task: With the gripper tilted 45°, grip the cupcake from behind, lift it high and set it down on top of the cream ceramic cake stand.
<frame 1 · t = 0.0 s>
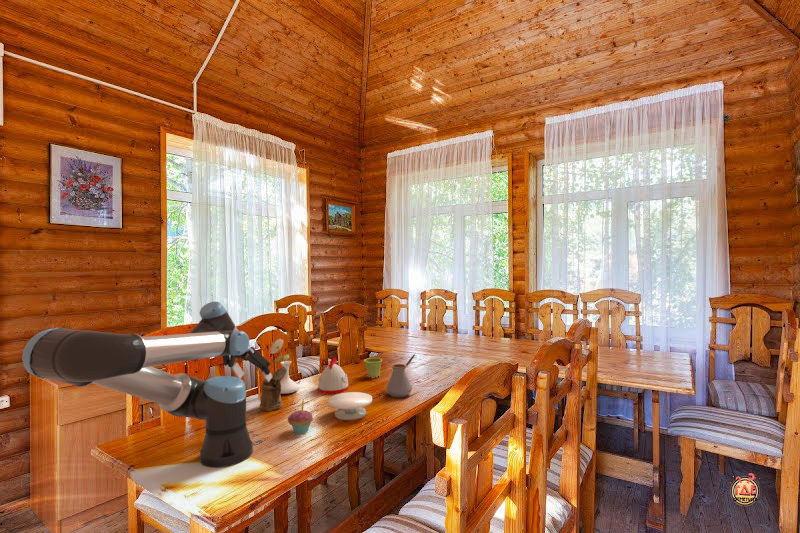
hand: (255, 377, 159), 15 cm above the table, tool tilted 35°, fingers open, 13 cm apart
plant pot: (373, 377, 213), on the table
flower in vase: (284, 392, 190), on the table
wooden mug: (274, 409, 169), on the table
coffee pot: (404, 392, 187), on the table
cupcake: (300, 432, 145), on the table
cake stand: (350, 414, 160), on the table
kitchen timer: (333, 389, 193), on the table
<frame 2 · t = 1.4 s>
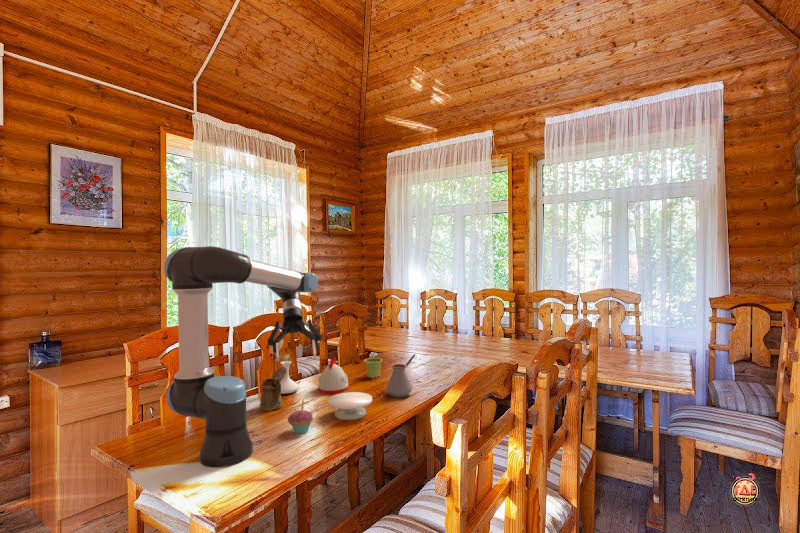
hand: (296, 357, 155), 24 cm above the table, tool tilted 45°, fingers open, 13 cm apart
nothing on the table moved.
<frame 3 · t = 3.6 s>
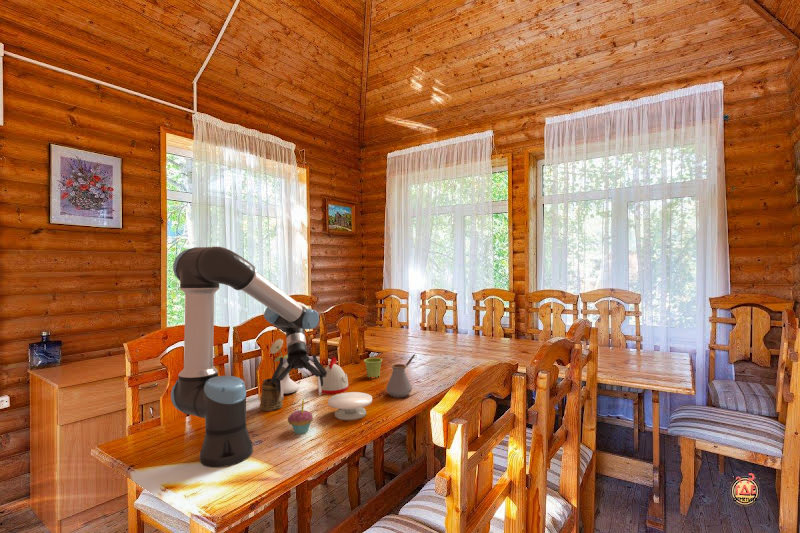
hand: (301, 396, 151), 10 cm above the table, tool tilted 45°, fingers open, 13 cm apart
nothing on the table moved.
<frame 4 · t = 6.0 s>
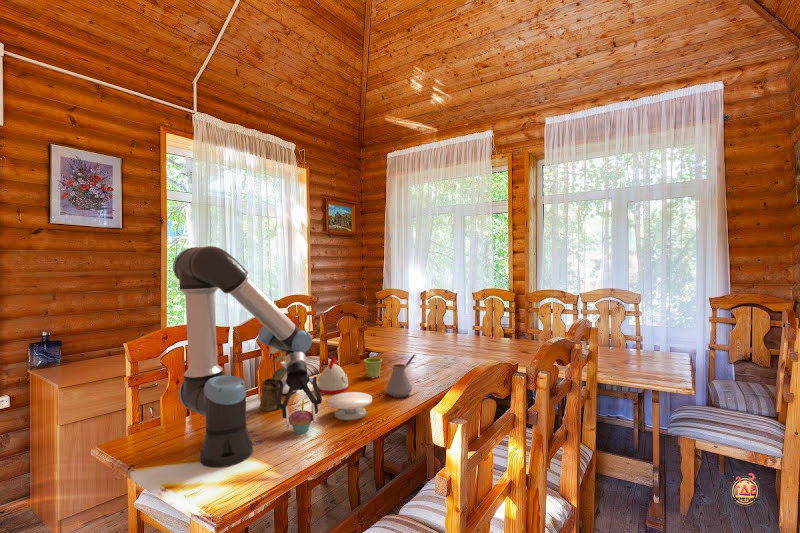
hand: (301, 424, 142), 4 cm above the table, tool tilted 45°, fingers closed on cupcake, 8 cm apart
cupcake: (300, 431, 145), on the table, touching gripper
everything else where it was.
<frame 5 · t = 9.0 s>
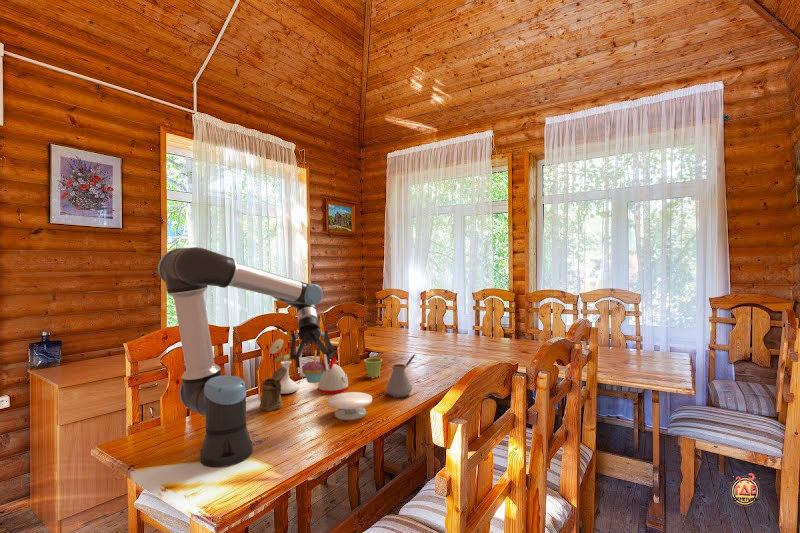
hand: (314, 373, 146), 20 cm above the table, tool tilted 45°, fingers closed on cupcake, 8 cm apart
cupcake: (313, 381, 149), point 16 cm above the table, touching gripper
everything else where it was.
when the fingers open (12 cm above the table, at t = 12.3 s): cupcake drops 2 cm, resting on cake stand.
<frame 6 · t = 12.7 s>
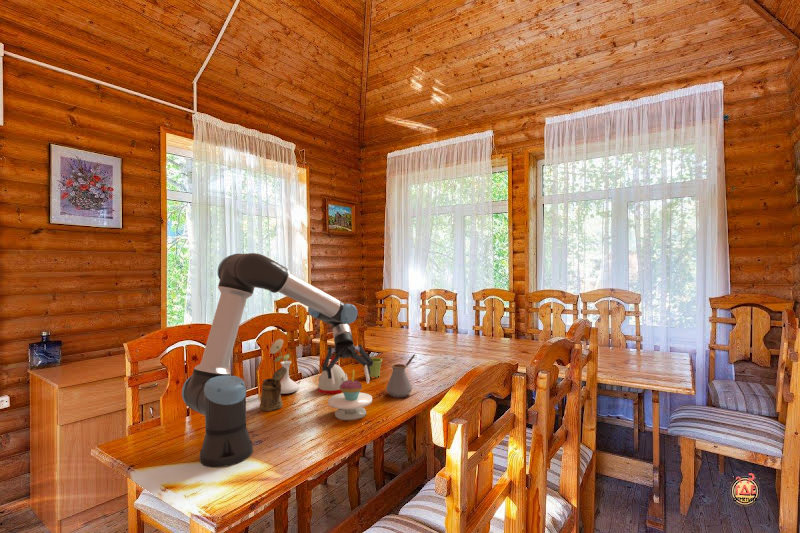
hand: (351, 383, 158), 13 cm above the table, tool tilted 45°, fingers open, 13 cm apart
cupcake: (351, 399, 160), point 6 cm above the table, touching cake stand
everything else where it was.
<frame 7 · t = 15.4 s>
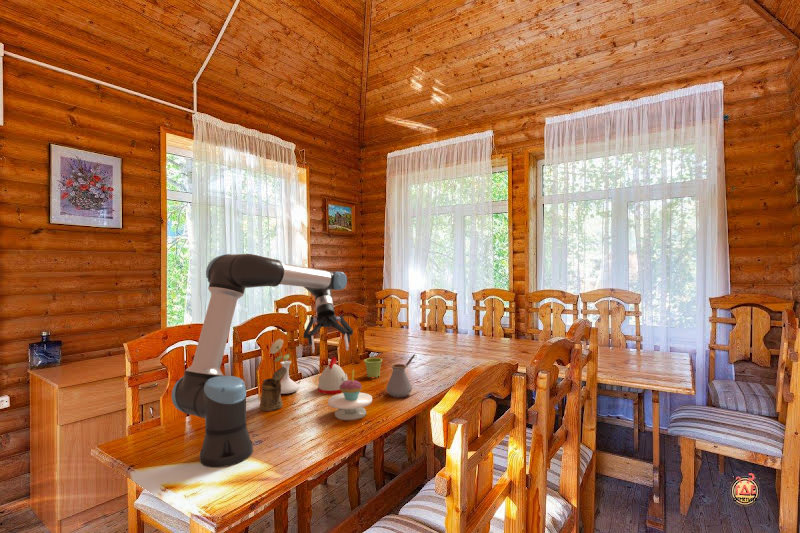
hand: (330, 349, 166), 24 cm above the table, tool tilted 45°, fingers open, 13 cm apart
nothing on the table moved.
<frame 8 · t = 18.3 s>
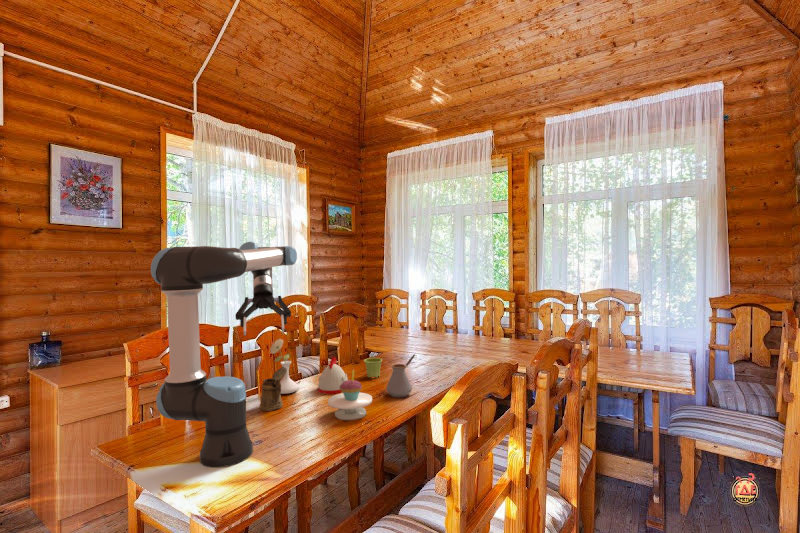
hand: (264, 331, 154), 34 cm above the table, tool tilted 45°, fingers open, 13 cm apart
nothing on the table moved.
at the end: cupcake inside the target area on the cake stand (0.3 cm from its centre), point 5.8 cm above the cake stand's base; cupcake tilted 0°; the gripper is holding nothing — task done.
